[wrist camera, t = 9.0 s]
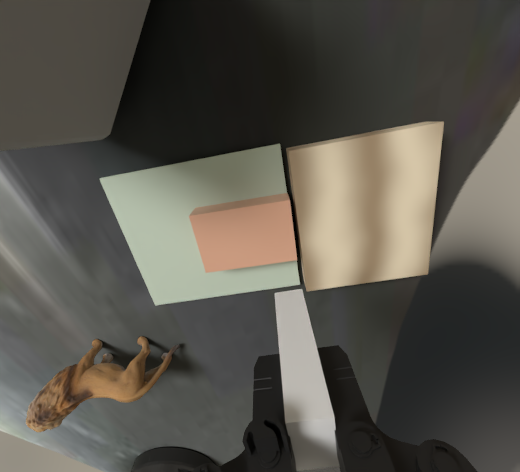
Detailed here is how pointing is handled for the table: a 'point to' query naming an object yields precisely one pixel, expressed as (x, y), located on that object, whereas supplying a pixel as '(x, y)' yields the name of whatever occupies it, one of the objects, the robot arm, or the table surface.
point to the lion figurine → (93, 385)
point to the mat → (179, 226)
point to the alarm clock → (64, 68)
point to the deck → (366, 204)
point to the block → (245, 233)
